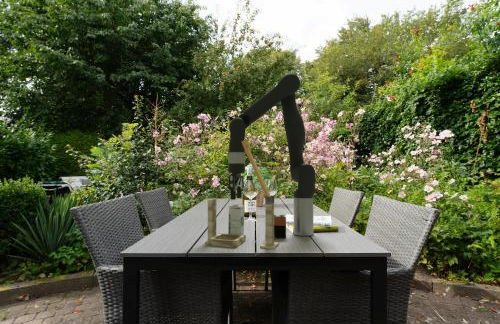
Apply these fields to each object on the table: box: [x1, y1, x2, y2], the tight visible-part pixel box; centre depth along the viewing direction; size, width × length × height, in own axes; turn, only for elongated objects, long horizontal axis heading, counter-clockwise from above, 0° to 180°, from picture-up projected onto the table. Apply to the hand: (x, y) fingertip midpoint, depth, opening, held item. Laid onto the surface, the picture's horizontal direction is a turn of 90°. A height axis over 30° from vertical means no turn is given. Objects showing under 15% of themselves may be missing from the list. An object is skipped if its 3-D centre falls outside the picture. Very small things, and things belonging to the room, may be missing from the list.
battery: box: [274, 214, 287, 239], centre depth 142 cm, size 4×7×10 cm, turn 82°
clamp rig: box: [204, 194, 280, 250], centre depth 129 cm, size 12×30×20 cm, turn 73°
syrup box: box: [227, 204, 245, 235], centre depth 142 cm, size 6×6×14 cm
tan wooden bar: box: [242, 139, 271, 197], centre depth 128 cm, size 4×26×2 cm
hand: (236, 198), depth 142 cm, fingers open, 8 cm apart
